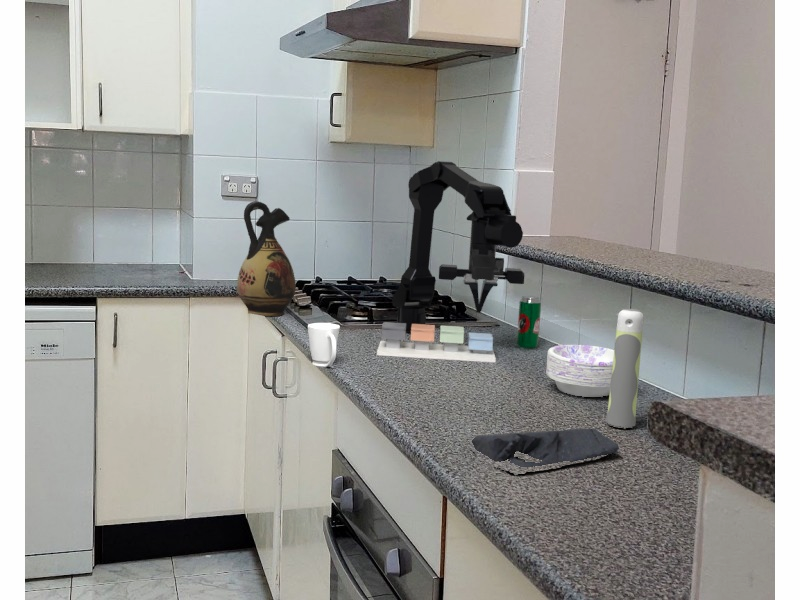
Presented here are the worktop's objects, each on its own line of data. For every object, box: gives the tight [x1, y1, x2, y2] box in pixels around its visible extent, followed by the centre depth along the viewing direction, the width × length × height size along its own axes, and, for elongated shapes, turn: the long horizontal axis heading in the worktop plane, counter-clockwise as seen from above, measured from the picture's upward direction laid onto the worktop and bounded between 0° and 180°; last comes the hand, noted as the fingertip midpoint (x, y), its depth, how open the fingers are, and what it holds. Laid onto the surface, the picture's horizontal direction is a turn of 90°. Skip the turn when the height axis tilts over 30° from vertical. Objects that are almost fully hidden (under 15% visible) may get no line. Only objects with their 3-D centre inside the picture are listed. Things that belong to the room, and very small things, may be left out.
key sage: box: [439, 325, 465, 344], centre depth 197 cm, size 5×5×3 cm
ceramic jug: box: [236, 200, 297, 317], centre depth 233 cm, size 17×15×30 cm
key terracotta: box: [410, 324, 436, 343], centre depth 197 cm, size 5×5×3 cm
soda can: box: [516, 295, 542, 350], centre depth 209 cm, size 5×5×12 cm
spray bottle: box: [605, 308, 645, 427], centre depth 146 cm, size 5×5×20 cm
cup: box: [307, 322, 341, 368], centre depth 179 cm, size 7×10×8 cm
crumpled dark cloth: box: [472, 427, 620, 467], centre depth 131 cm, size 15×22×5 cm
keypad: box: [376, 339, 497, 363], centre depth 197 cm, size 26×12×4 cm, turn 87°
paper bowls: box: [545, 344, 614, 398], centre depth 169 cm, size 15×15×8 cm
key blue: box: [467, 332, 494, 351], centre depth 197 cm, size 5×5×3 cm
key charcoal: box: [381, 321, 407, 341], centre depth 197 cm, size 5×5×3 cm
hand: (478, 312), depth 196 cm, fingers closed
